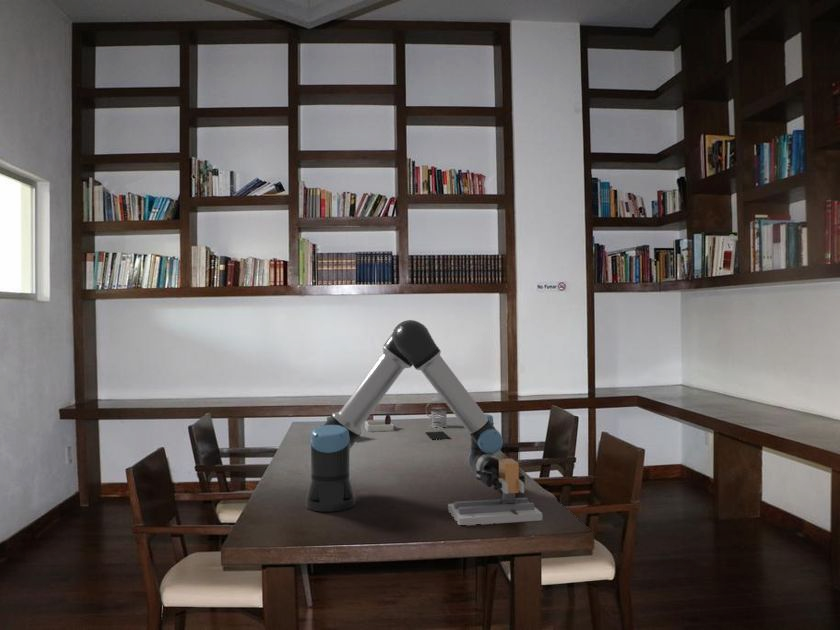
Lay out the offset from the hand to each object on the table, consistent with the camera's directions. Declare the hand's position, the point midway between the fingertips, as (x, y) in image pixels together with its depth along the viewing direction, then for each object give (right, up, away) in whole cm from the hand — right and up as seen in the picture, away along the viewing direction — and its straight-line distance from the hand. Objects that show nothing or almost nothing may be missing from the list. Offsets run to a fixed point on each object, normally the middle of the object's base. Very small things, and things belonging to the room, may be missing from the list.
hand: (514, 488), depth 183 cm
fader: (-1, -7, +5) cm, 9 cm away
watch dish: (-47, -9, +144) cm, 152 cm away
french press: (-18, -9, +150) cm, 151 cm away
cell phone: (-18, -9, +124) cm, 126 cm away
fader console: (-5, -9, +5) cm, 11 cm away
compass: (-45, -9, +143) cm, 150 cm away
